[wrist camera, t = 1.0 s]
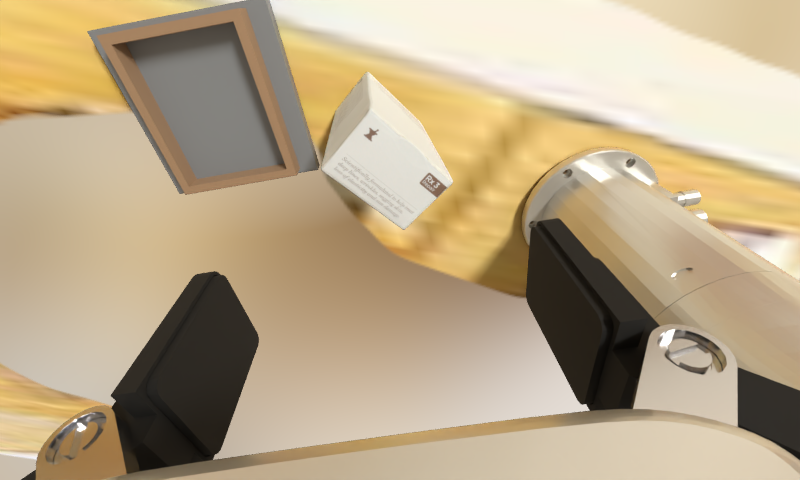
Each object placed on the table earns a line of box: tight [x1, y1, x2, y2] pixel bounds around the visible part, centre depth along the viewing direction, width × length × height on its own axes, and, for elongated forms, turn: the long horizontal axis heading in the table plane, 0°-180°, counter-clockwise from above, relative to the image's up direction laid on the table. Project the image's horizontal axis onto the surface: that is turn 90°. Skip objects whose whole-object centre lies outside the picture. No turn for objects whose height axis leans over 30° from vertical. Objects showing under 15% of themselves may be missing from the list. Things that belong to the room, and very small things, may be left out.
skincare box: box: [321, 72, 453, 230], centre depth 23 cm, size 6×4×12 cm
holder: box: [87, 0, 319, 195], centre depth 26 cm, size 12×12×2 cm
